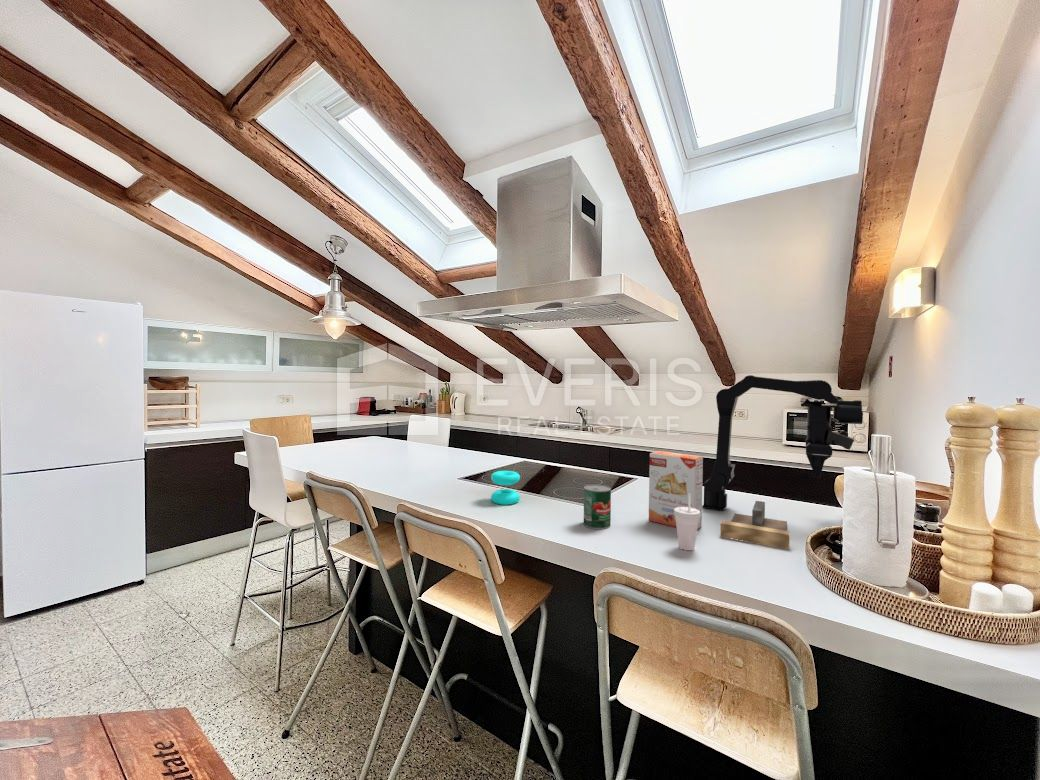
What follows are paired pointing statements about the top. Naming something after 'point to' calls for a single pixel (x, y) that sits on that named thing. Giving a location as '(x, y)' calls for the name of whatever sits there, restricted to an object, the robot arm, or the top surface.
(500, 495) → the donuts
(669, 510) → the cracker box
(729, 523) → the oak bar
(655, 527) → the top surface
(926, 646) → the top surface
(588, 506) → the canned tomato
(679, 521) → the smoothie
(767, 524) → the stand
